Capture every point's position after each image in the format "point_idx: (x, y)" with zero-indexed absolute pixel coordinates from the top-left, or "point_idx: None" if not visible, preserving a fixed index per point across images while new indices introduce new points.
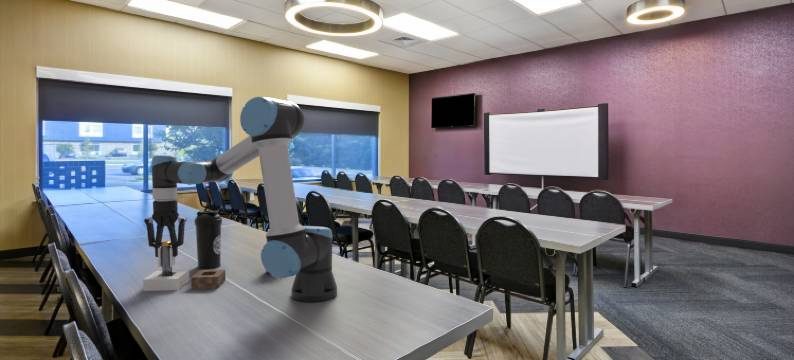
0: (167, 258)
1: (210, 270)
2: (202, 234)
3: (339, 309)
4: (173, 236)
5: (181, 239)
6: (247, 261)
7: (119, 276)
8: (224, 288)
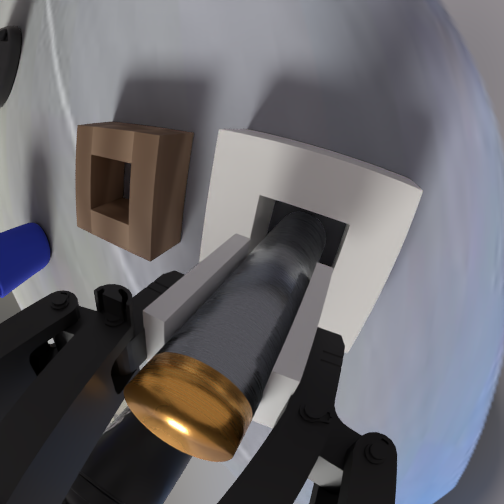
0: (240, 274)
1: (112, 233)
2: (128, 467)
3: (8, 9)
4: (22, 395)
5: (10, 326)
6: None
7: (457, 411)
8: (99, 115)
